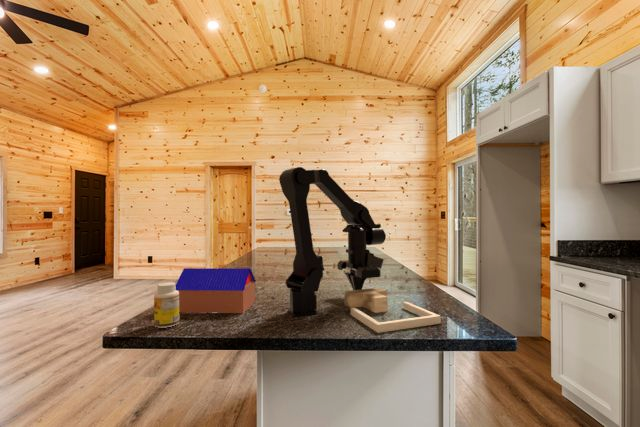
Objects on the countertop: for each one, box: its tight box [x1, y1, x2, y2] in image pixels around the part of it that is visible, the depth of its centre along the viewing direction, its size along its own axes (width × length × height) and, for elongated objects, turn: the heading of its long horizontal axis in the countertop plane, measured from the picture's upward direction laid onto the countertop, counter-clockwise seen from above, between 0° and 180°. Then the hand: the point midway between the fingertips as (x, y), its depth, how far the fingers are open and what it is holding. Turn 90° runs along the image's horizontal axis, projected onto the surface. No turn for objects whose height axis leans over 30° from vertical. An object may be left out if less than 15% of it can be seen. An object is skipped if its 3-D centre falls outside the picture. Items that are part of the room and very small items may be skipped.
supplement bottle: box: [153, 281, 180, 329], centre depth 78 cm, size 6×6×10 cm
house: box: [175, 267, 257, 314], centre depth 94 cm, size 12×20×12 cm, turn 86°
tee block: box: [343, 287, 389, 314], centre depth 92 cm, size 11×12×4 cm
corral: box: [350, 301, 442, 334], centre depth 81 cm, size 17×14×2 cm
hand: (357, 295), depth 100 cm, fingers closed
